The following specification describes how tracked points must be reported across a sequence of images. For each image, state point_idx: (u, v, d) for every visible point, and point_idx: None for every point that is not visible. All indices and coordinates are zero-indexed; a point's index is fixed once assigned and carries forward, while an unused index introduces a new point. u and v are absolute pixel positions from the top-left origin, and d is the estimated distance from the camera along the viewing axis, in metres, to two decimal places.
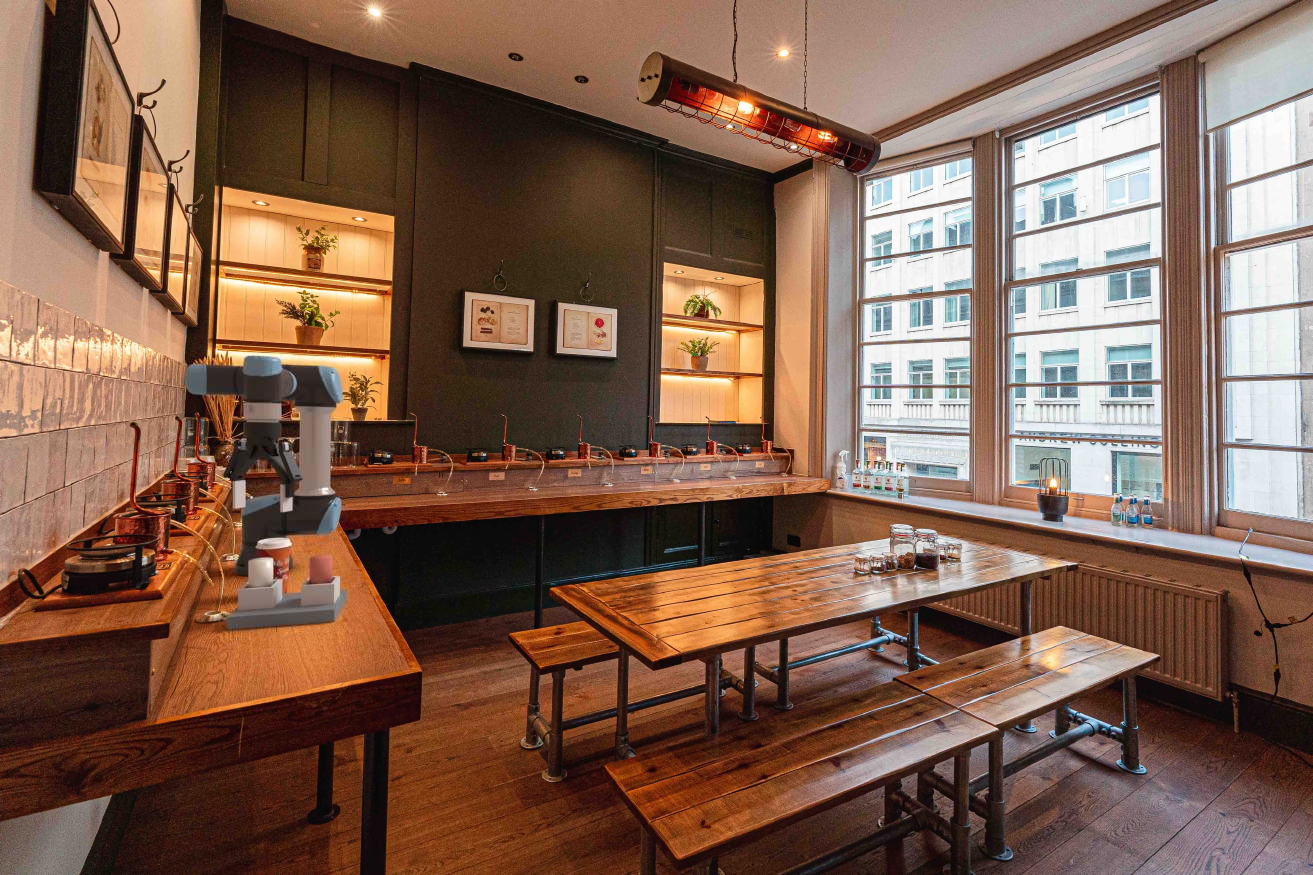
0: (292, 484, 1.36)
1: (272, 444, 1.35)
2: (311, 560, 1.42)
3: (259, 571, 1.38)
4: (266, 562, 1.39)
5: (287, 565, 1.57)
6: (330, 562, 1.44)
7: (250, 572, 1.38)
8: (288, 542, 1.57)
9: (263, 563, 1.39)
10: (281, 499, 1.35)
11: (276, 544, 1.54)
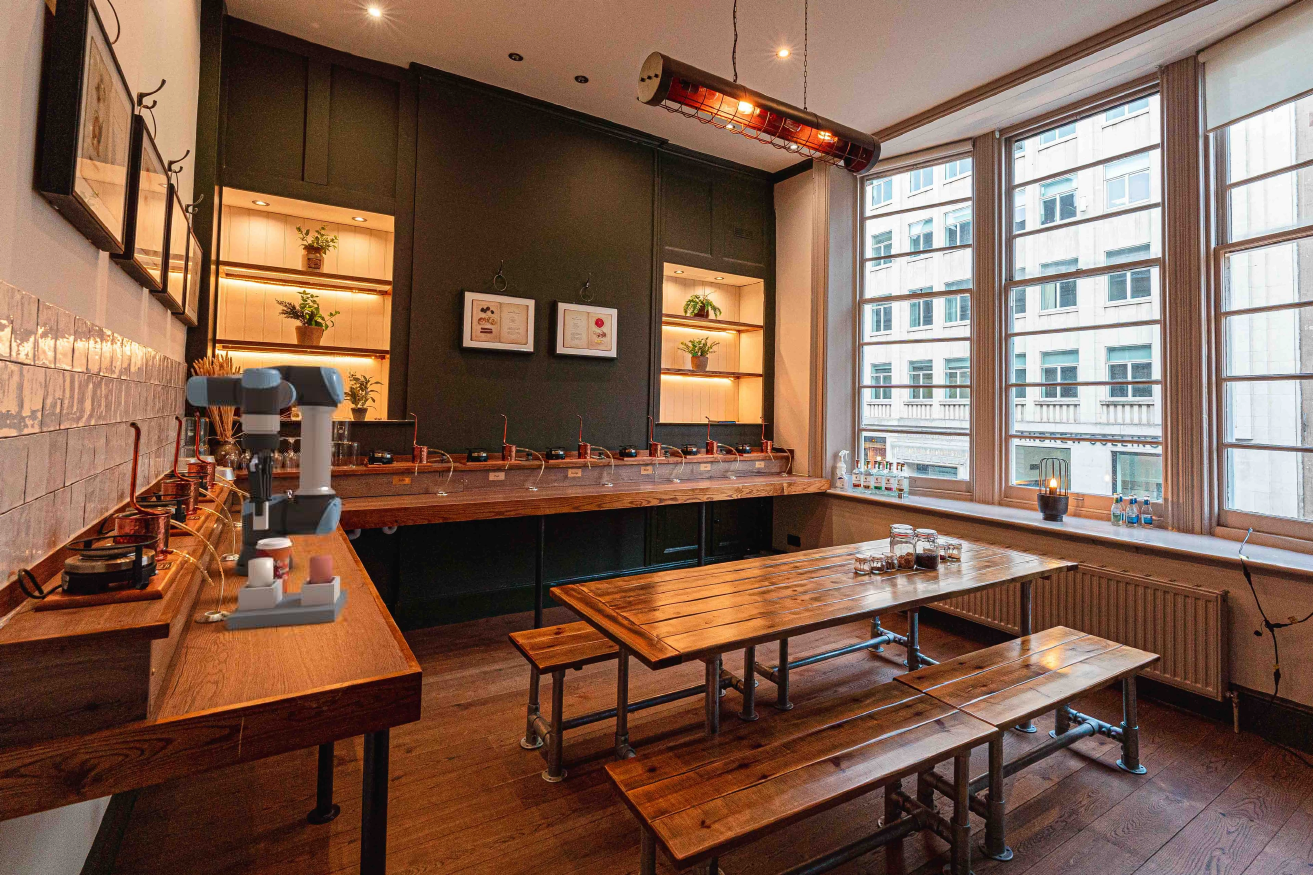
0: (258, 503, 1.38)
1: (250, 458, 1.35)
2: (311, 560, 1.42)
3: (259, 571, 1.38)
4: (266, 562, 1.39)
5: (287, 565, 1.57)
6: (330, 562, 1.44)
7: (250, 572, 1.38)
8: (288, 542, 1.57)
9: (263, 563, 1.39)
10: None
11: (276, 544, 1.54)
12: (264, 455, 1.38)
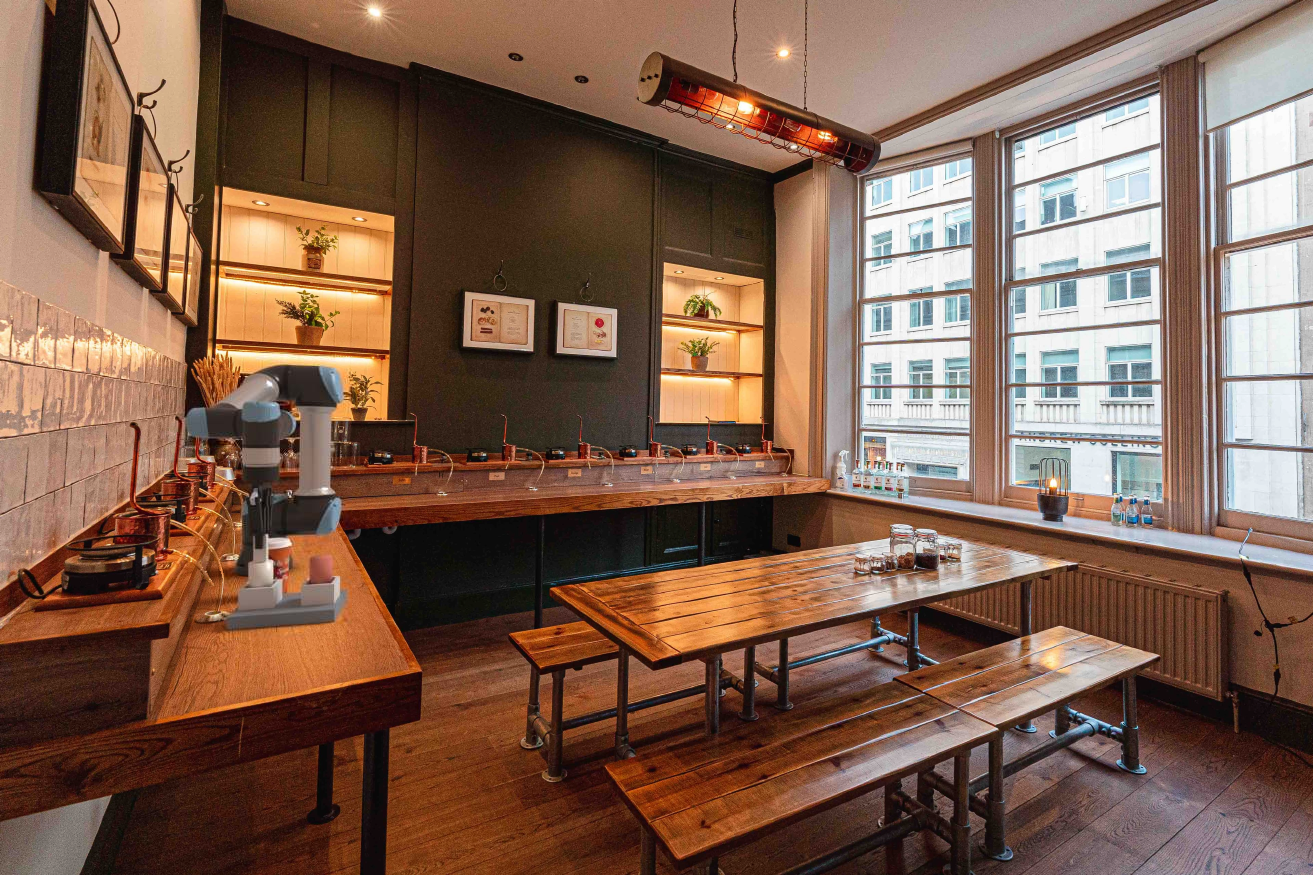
0: (258, 536, 1.38)
1: (250, 491, 1.35)
2: (311, 560, 1.42)
3: (259, 573, 1.38)
4: (266, 564, 1.39)
5: (287, 565, 1.57)
6: (330, 562, 1.44)
7: (250, 574, 1.38)
8: (288, 542, 1.57)
9: (263, 565, 1.39)
10: None
11: (276, 544, 1.54)
12: (264, 488, 1.39)
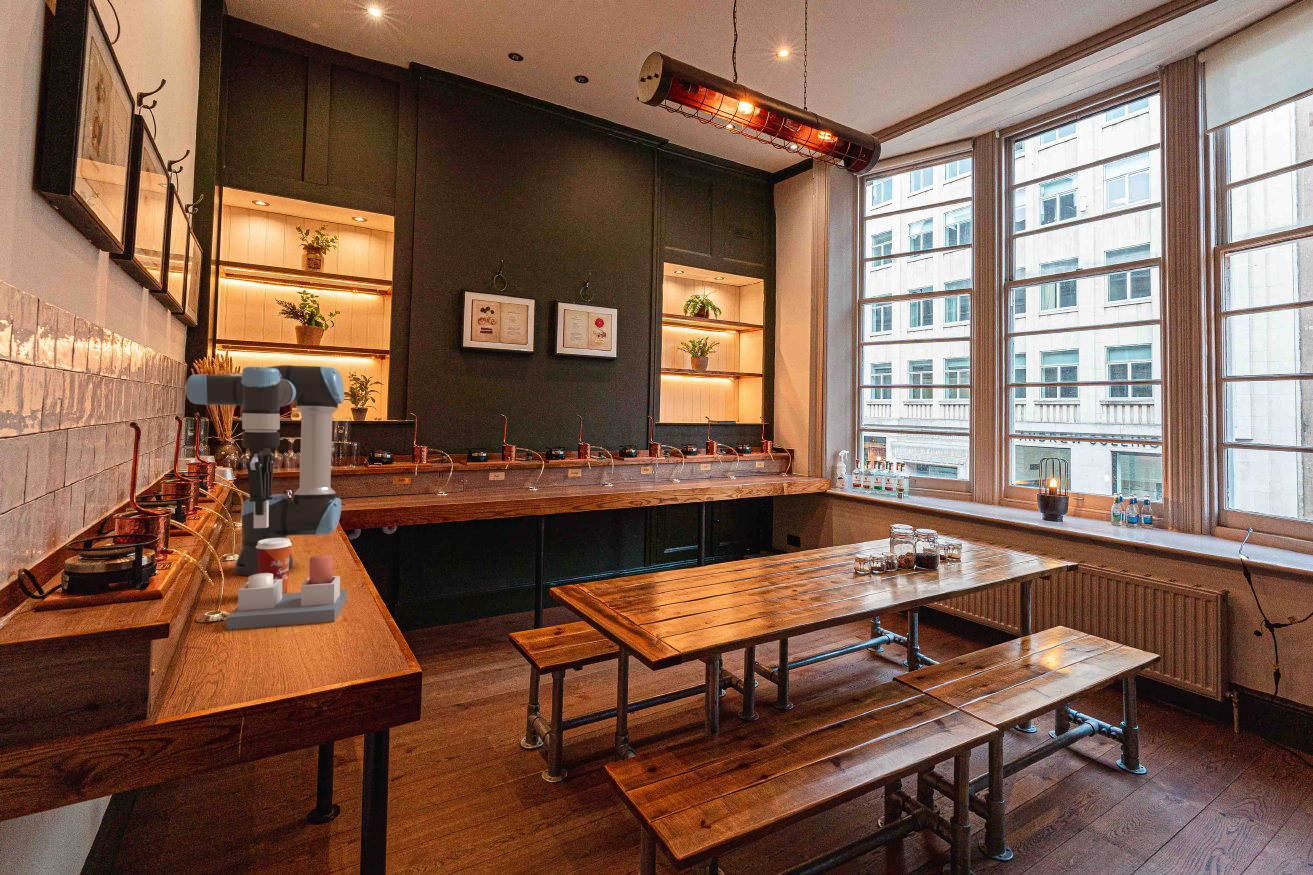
0: (258, 502, 1.38)
1: (250, 456, 1.35)
2: (311, 560, 1.42)
3: (259, 587, 1.38)
4: (266, 578, 1.39)
5: (287, 565, 1.57)
6: (330, 562, 1.44)
7: None
8: (288, 542, 1.57)
9: (263, 579, 1.39)
10: None
11: (276, 544, 1.54)
12: (264, 454, 1.38)
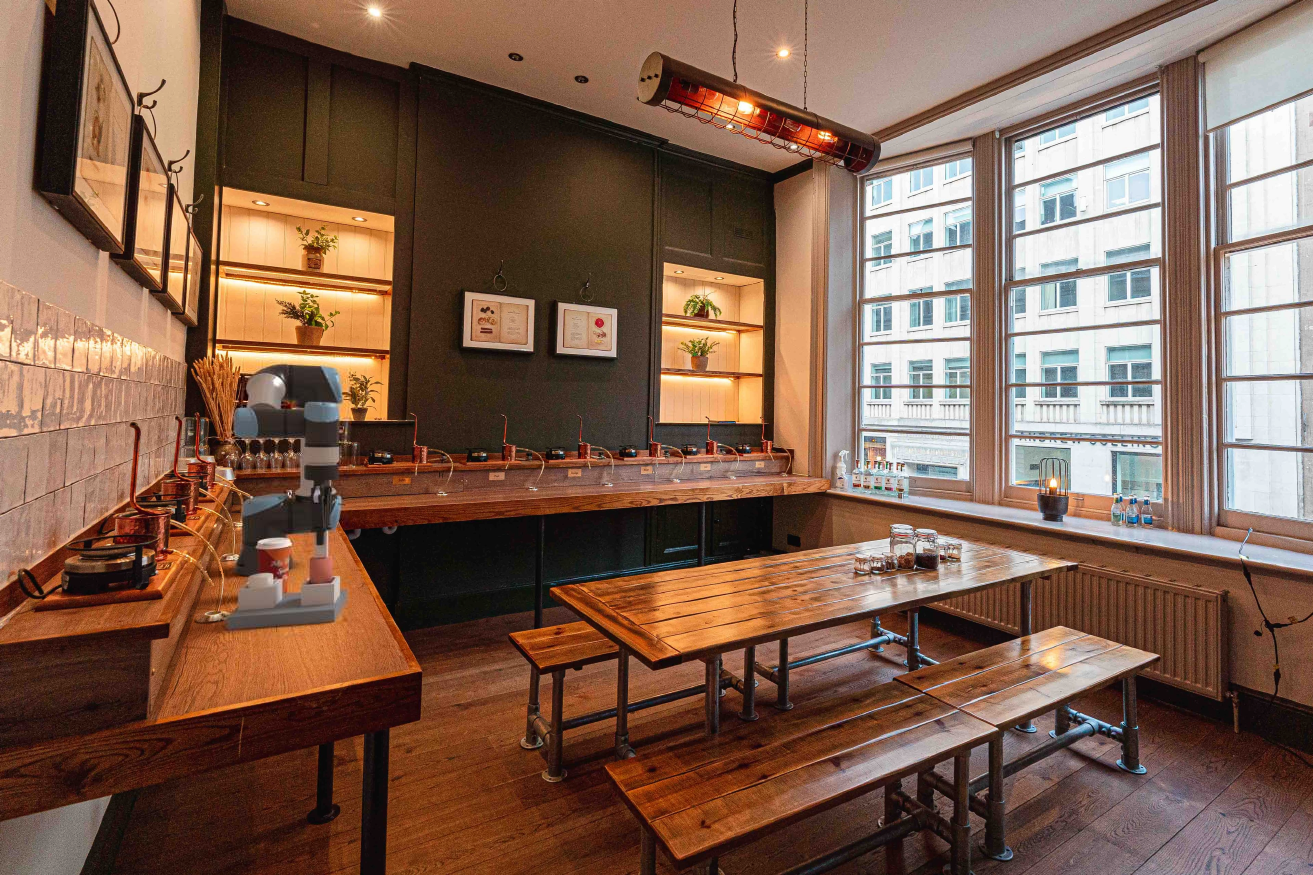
0: (319, 533, 1.42)
1: (313, 489, 1.40)
2: (311, 561, 1.42)
3: (259, 587, 1.38)
4: (266, 578, 1.39)
5: (287, 565, 1.57)
6: (330, 563, 1.44)
7: None
8: (288, 542, 1.57)
9: (263, 579, 1.39)
10: None
11: (276, 544, 1.54)
12: (325, 486, 1.43)
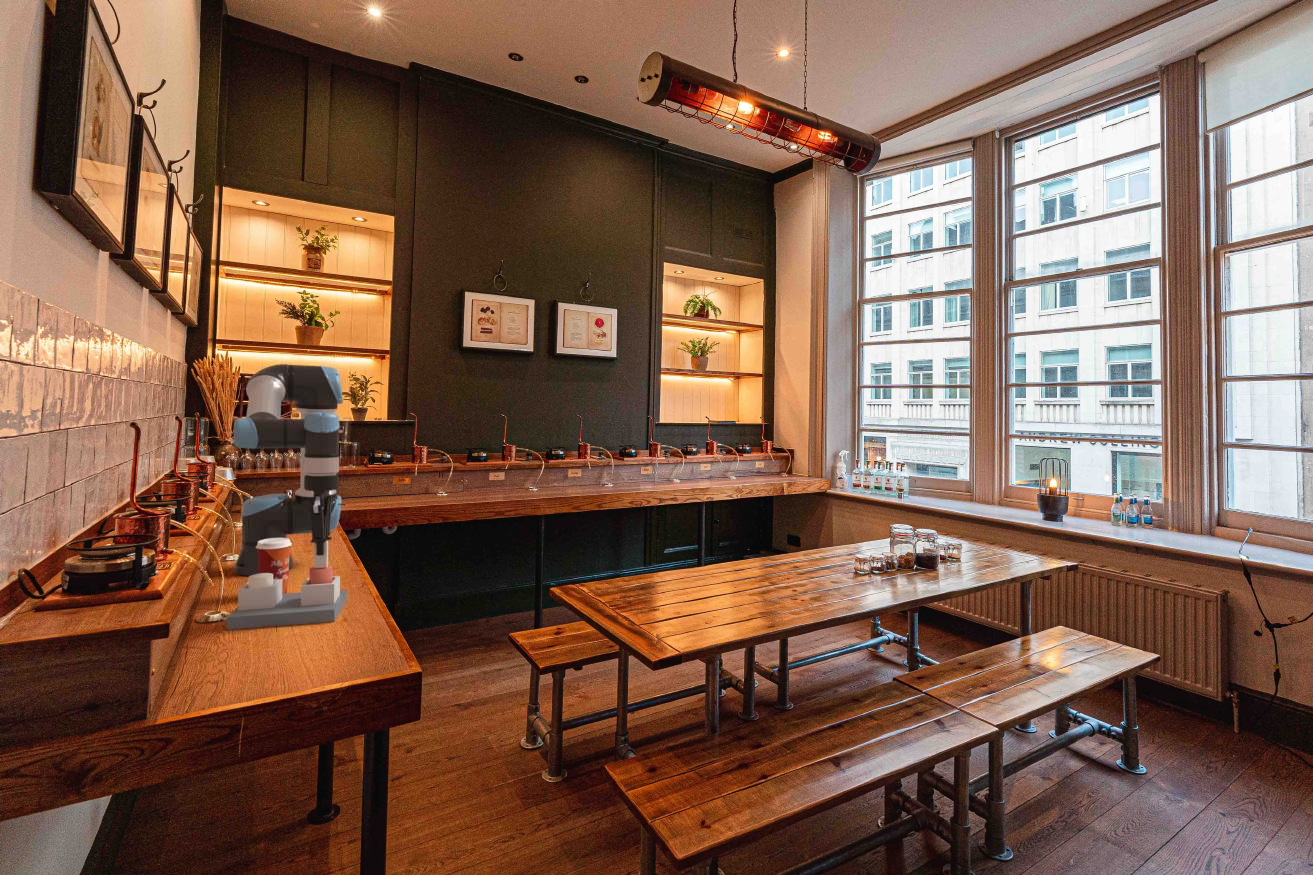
0: (319, 543, 1.42)
1: (313, 500, 1.40)
2: (311, 571, 1.42)
3: (259, 587, 1.38)
4: (266, 578, 1.39)
5: (287, 565, 1.57)
6: (330, 573, 1.44)
7: None
8: (288, 542, 1.57)
9: (263, 579, 1.39)
10: None
11: (276, 544, 1.54)
12: (325, 496, 1.43)
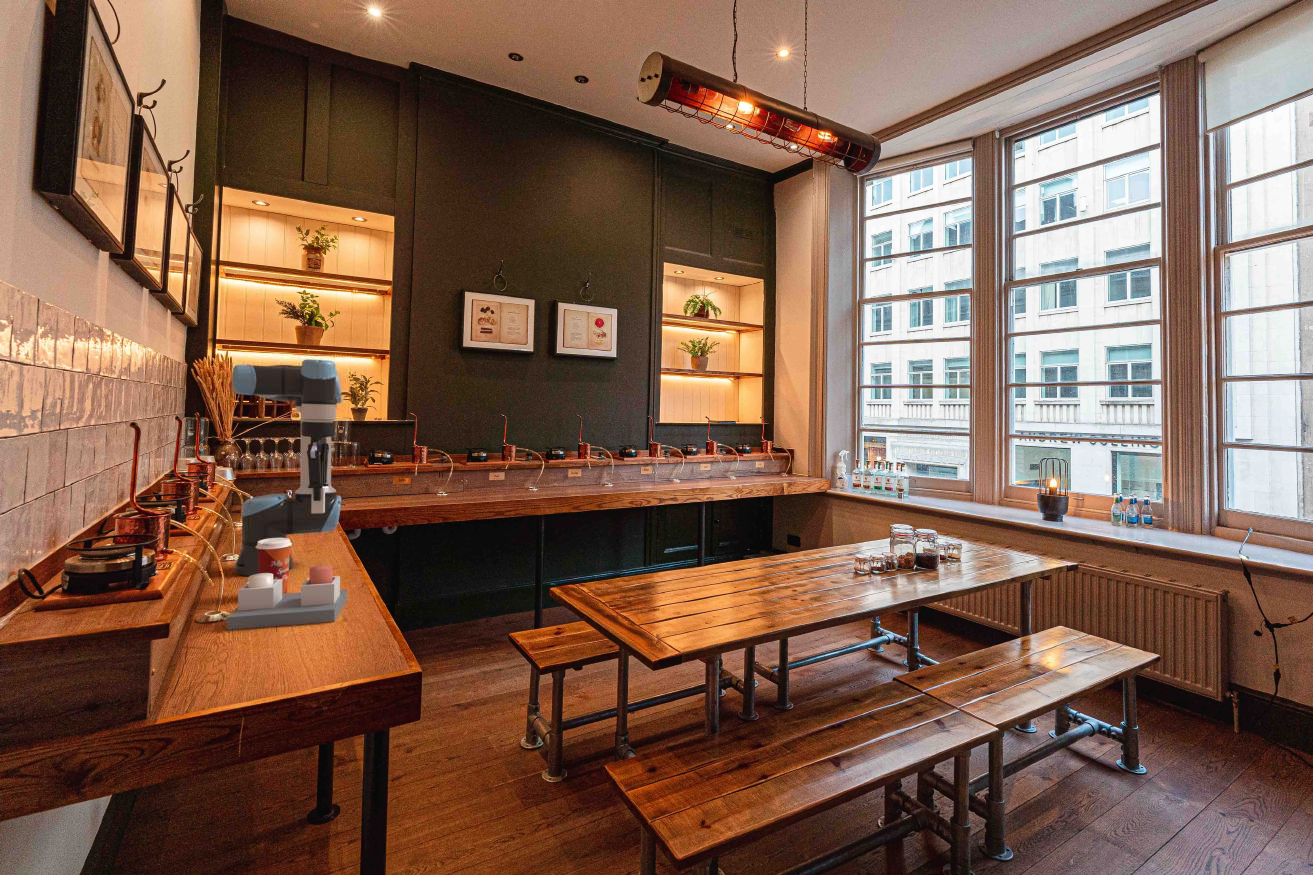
0: (316, 489, 1.45)
1: (310, 445, 1.42)
2: (311, 571, 1.42)
3: (259, 587, 1.38)
4: (266, 578, 1.39)
5: (287, 565, 1.57)
6: (330, 573, 1.44)
7: None
8: (288, 542, 1.57)
9: (263, 579, 1.39)
10: None
11: (276, 544, 1.54)
12: (322, 443, 1.45)
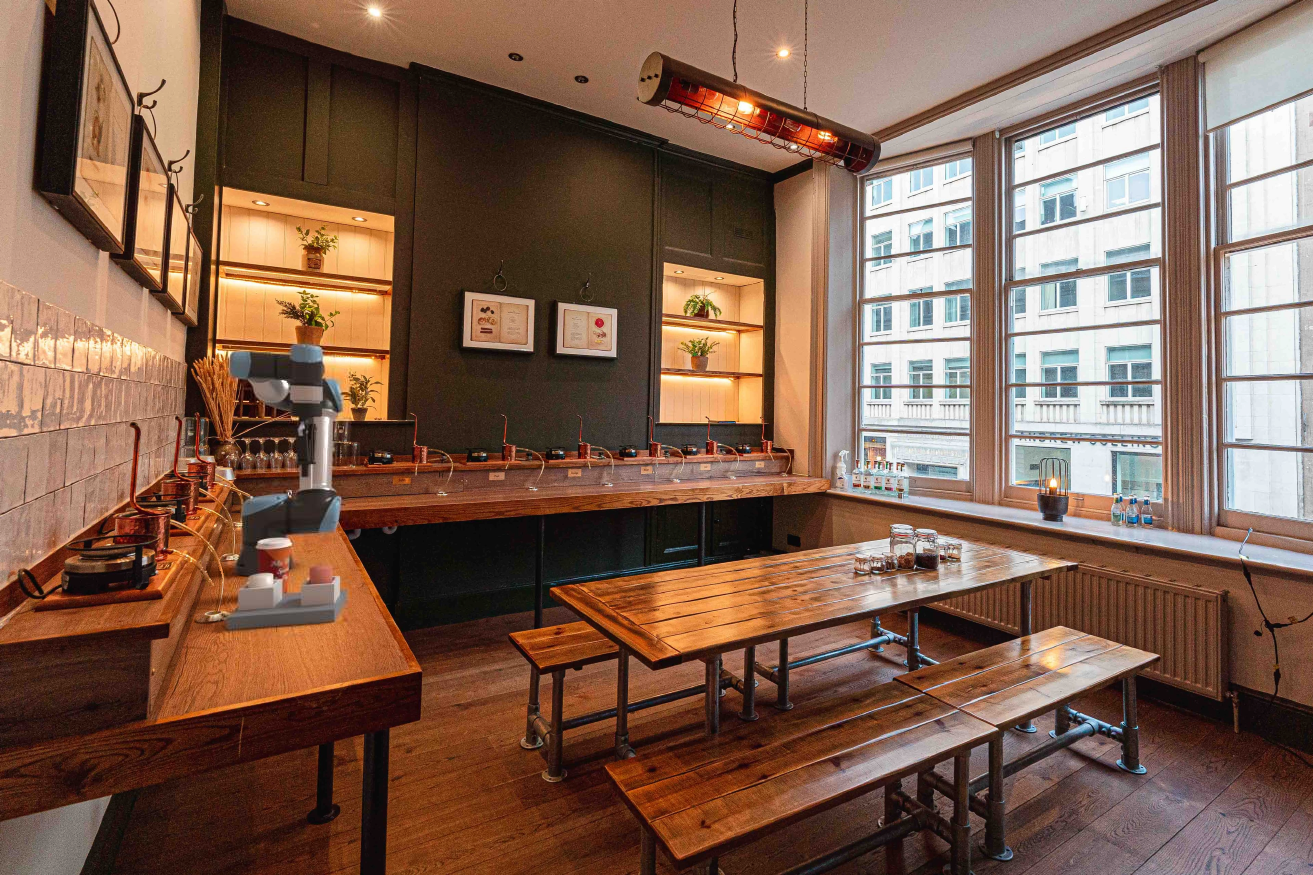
0: (304, 465, 1.55)
1: (298, 424, 1.52)
2: (311, 571, 1.42)
3: (259, 587, 1.38)
4: (266, 578, 1.39)
5: (287, 565, 1.57)
6: (330, 573, 1.44)
7: None
8: (288, 542, 1.57)
9: (263, 579, 1.39)
10: None
11: (276, 544, 1.54)
12: (309, 422, 1.55)
